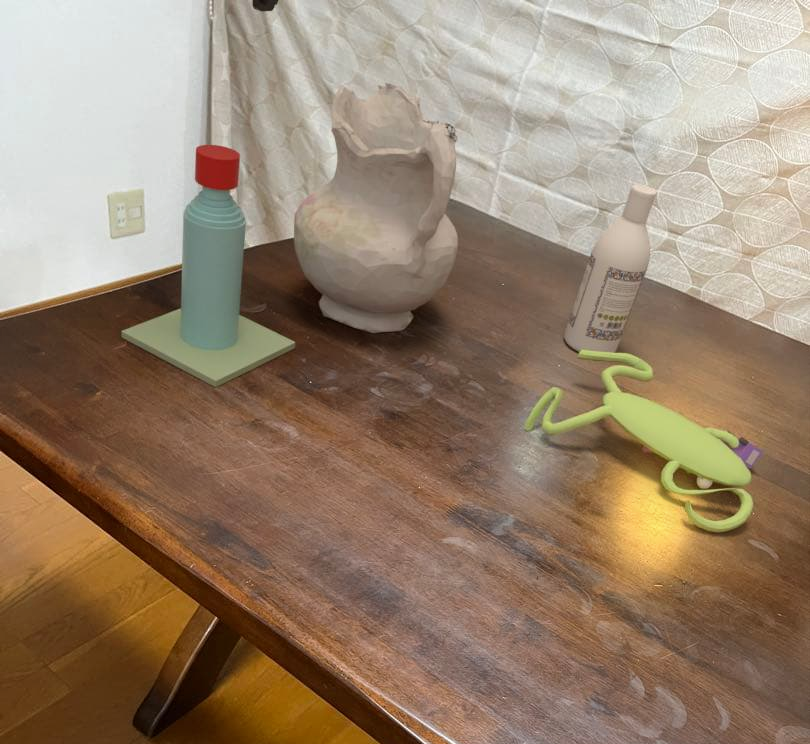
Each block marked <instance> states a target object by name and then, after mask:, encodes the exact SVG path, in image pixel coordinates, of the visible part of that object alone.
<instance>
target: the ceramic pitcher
mask: <svg viewBox="0 0 810 744" xmlns="http://www.w3.org/2000/svg"><path fill="white" fill-rule="evenodd" d="M384 84H385V86H382V85H377V87H378V90H377V91H375V92H373V93H372V94H371V95H369V96H368V97H366V98H365V99H364V98H363V99H362V98H359V97H358V95H356V93H355V92H354V90H352V89H350V88H347V87H345V86H344V85H340V86H339V88H338V90H337V91H336V93H335V95H334V97H333V101H332V104H331V109H330V111H331V133H332V135H333V136H334V142H335V149H336V158H337V159H336V161H337V162H336V167H335V172H334V174H333V177H332V179H331V180H330V181H329V182H328V183H326V184H325V185H323V186H321V187H319V188H317V189H315V190H314V191H312V192H310V193H309V194H307V196H306V197H305V198H304V199H303V200H302V201H301V202H300V203H299V205H298V207H297V209H296V212H295V213H294V219H293V221H294V222H293V243H294V251H295V255H296V258H297V260H298V261H297V262H298V264H299V267H300V268H301V271H302V273H303V275H304V276H305V278H306V279H307V280H308V281H309V282H310V284H311V285H312V286H313V287H314V289H315V290H316V291H318V292H319V293H320V294H321V295H322V296H321V298H320V299H319V301H318V302H317V303H318V306H319V309H320V311H321V313H322V316H323V317H325V318H328V319H331V320H334V321H337V322H338V323H341V324H343V325H346V326H348V327H350V328H351V327H352V328H354V329H358V330H360V331H364V332H368V333H371V334H376V333H377V334H378V333H388V332H401V331H404V330H405V329H406V328H407V327H408V326H409V325H410V324H411V322H412V321H413V319H414V315H413V313H412V312H411V311H414V310H416V309H417V308H419V307H420V306H423V305H425V304H426V303H428V302H429V301H430V300H432V299H433V298H434V297H435V296H436V295H437V294H438V292H440V291H441V290H442V288H444V286H445V284H446V283H447V281H448V279H449V277H450V275H451V272H452V270H453V268H454V266H455V262H456V259H457V252H458V247H459V238H458V237H459V236H458V233H457V230H456V227H455V226H454V224H453V222H452V221H451V219H450V218H449V216H448V215H447V214H446V210H447V209H448V208H447V207H448V205H449V202H450V198H451V194H452V191H453V187H454V182H455V179H456V172H457V171H456V170H457V153H456V143H457V142H458V141H459V139H458V136H457V135H456V127H455V126H453V125H452V124H450V123H448V122H445V123H444V122H439V120H434V121H432V120H425V118H424V116H423V113H422V109H421V105H420V100H421V98H419V97H417V98H414V96H413V95H411V93H409V92H407V91H405V90H404V88H403V87H402V86H397V85H394V84H391V83H386V82H385V83H384Z"/></svg>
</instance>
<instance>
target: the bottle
mask: <svg viewBox="0 0 810 744" xmlns="http://www.w3.org/2000/svg"><path fill="white" fill-rule="evenodd" d="M201 186H202V185H201ZM201 189H202V190H201V191H199V192H198V194H197V195H195V196H194V198H193V199H192V200H190V201H189V203H188V204H187V205H186V206H185V209H184V210H183V215H182V217H183V218H182V219H183V220H182V251H181V252H182V254H181V255H182V256H181V257H182V259H181V292H180V293H181V295H180V297H181V298H180V308H181V329H180V335H181V337H182V339H183V340H184V341H185V342H187V343H188V344H190V345H192V346H195V347H198V348H202V349H209V350H220V349H226V348H229V347H231V346H233V345H234V344H235V343H236V342H237V338H238V324H239V315H240V311H241V310H240V307H241V295H242V294H241V293H242V281H243V268H244V267H243V266H244V254H245V253H244V252H245V241H246V240H245V239H246V226H247V225H246V224H247V220H246V217H245V213H244V212H243V211H242V210H241V208H240V206H239V205H238V204H237V201H236V200H235V199H234V197H233V196H232V195H231V190H216V189H211V188H207V187H204V186H202V188H201Z"/></svg>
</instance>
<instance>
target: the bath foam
mask: <svg viewBox="0 0 810 744" xmlns="http://www.w3.org/2000/svg"><path fill="white" fill-rule="evenodd" d="M656 197H657V191H656V189H654V188H652V187H650V186H647V185H643V184H633V185H632V186H631V188H630V190H629V193H628V197H627V199H626V203H625V205H624V208H623V211H622V214H621V216H620V217H618V219H617V220H615V221H614V222H612V224H610V225H609V226H608V227H607V228H606V229H605V230H604V231H603V232H602V233H601V235H600V236H599V237H598V239H597V240H596V241H595V243H594V245H593V248H592V250H591V252H590V254H589V255H590V256H589V259H588V261H587V265H586V267H585V271H584V274H583V277H582V279H581V281H580V282H581V283H580V286H579V288H578V292H577V294H576V297H575V301H574V304H573V307H572V309H571V312H570V315H569V319H568V322H567V326H566V328H565V332H564V337H563V338H564V341H565V343H566V344H567V345H568V346H569V347H570V348H571V349H573V350H574V351H576V352H577V353H579V352H580V351H581V350H582V349H583V350H589V351H598V352H612V353H616V352H617V350H618V346H619V344H620V342H621V339H622V336H623V333H624V332H625V330H626V326H627V324H628V320H629V317H630V315H631V312H632V310H633V307H634V305H635V302H636V300H637V297H638V294H639V291H640V289H641V287H642V284H643V282H644V279H645V276H646V273H647V271H648V266H649V263H650V258H651V242H650V237H649V233H648V228H647V224H646V223H647V220H648V218H649V215H650V213H651V210H652V207H653V205H654V202H655V199H656Z"/></svg>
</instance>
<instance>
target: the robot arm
mask: <svg viewBox="0 0 810 744" xmlns="http://www.w3.org/2000/svg"><path fill="white" fill-rule="evenodd" d="M251 2H252V7H253V9H254V10H256V11H258V12H272V11H274V9H275V7H276V5H278V2H279V0H252V1H251Z"/></svg>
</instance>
